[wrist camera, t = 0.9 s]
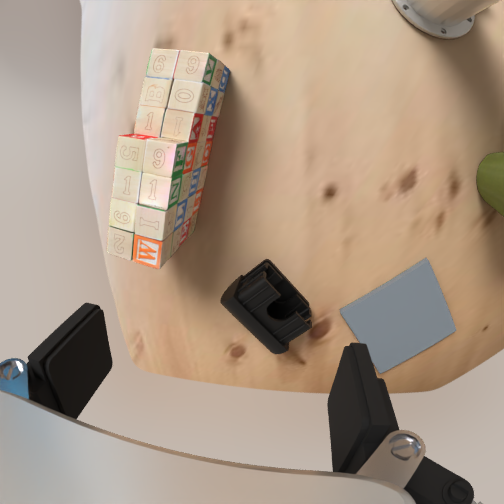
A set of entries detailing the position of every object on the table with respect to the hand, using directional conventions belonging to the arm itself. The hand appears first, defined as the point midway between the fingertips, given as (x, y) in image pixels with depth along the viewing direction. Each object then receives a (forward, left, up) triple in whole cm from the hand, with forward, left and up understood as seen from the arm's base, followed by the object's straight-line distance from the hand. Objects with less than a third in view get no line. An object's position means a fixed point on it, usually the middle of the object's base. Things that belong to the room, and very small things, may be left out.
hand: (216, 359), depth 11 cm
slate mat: (-6, +25, -29) cm, 39 cm away
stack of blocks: (+5, -11, -30) cm, 32 cm away
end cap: (+8, +11, -30) cm, 33 cm away
